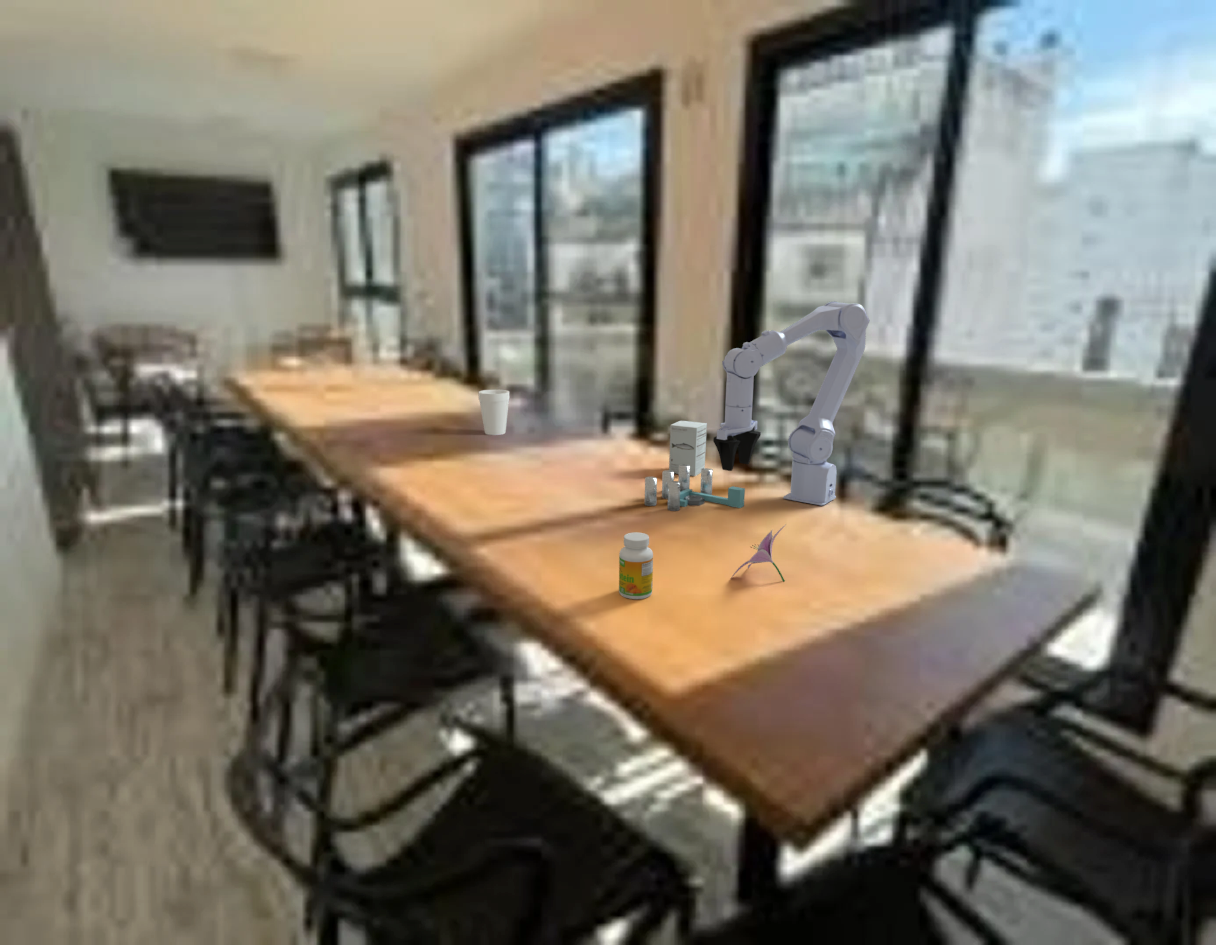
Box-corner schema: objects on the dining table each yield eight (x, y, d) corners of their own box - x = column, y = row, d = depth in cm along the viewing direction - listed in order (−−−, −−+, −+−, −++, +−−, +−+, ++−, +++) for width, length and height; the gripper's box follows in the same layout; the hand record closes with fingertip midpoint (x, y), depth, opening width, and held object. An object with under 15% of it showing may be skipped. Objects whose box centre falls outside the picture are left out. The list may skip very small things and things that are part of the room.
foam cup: (474, 434, 248) (473, 393, 244) (487, 429, 256) (486, 388, 253) (503, 436, 245) (501, 394, 242) (515, 431, 254) (514, 390, 250)
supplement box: (667, 473, 203) (669, 424, 200) (679, 467, 209) (680, 419, 206) (695, 477, 200) (696, 427, 197) (705, 470, 206) (707, 422, 203)
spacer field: (713, 494, 184) (714, 469, 183) (675, 511, 172) (676, 484, 170) (681, 488, 189) (682, 463, 188) (642, 504, 176) (642, 478, 175)
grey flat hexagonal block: (707, 503, 179) (707, 497, 178) (696, 508, 175) (696, 501, 175) (691, 500, 181) (691, 494, 181) (681, 504, 178) (681, 498, 177)
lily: (780, 567, 143) (755, 520, 143) (824, 563, 133) (797, 512, 132) (732, 601, 138) (707, 552, 137) (774, 599, 127) (747, 546, 127)
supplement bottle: (611, 593, 129) (612, 536, 127) (634, 584, 133) (635, 528, 130) (636, 603, 125) (637, 544, 123) (659, 593, 129) (660, 536, 127)
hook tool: (744, 505, 176) (744, 488, 175) (725, 515, 169) (725, 497, 168) (688, 495, 184) (689, 478, 183) (668, 503, 177) (668, 486, 176)
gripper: (738, 399, 180) (735, 457, 183) (705, 407, 168) (702, 470, 172) (767, 402, 175) (763, 462, 179) (735, 411, 164) (732, 475, 168)
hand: (735, 466), depth 175 cm, fingers open, 7 cm apart
